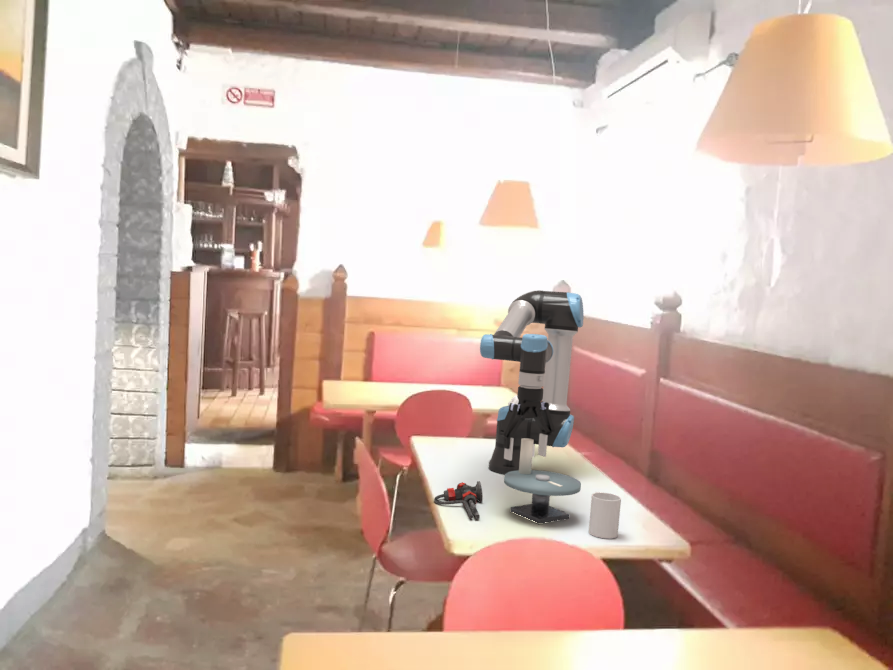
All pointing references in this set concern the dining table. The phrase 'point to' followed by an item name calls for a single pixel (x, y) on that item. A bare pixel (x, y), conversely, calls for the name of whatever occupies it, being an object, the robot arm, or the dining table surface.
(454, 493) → the dark grey forked tool
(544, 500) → the square pedestal base
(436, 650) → the dining table surface
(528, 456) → the handwheel
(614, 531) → the mug
